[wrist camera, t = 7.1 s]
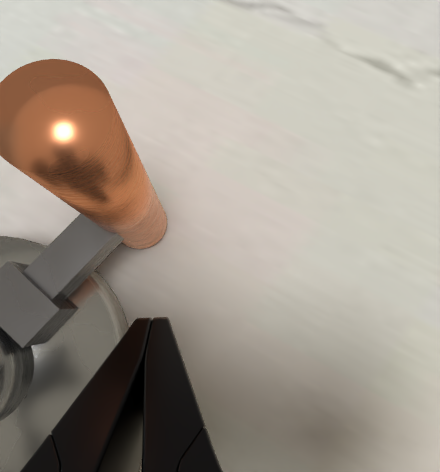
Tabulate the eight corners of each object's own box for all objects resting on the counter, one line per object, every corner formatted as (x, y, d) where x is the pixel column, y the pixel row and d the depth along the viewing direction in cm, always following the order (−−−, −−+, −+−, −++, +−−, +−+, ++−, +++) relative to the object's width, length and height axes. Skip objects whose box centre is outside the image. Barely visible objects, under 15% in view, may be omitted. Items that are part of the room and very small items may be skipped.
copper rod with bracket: (70, 336, 15) (-150, 390, 6) (31, 298, 15) (-242, 293, 6) (177, 220, 16) (138, 110, 7) (139, 187, 16) (51, 37, 7)
